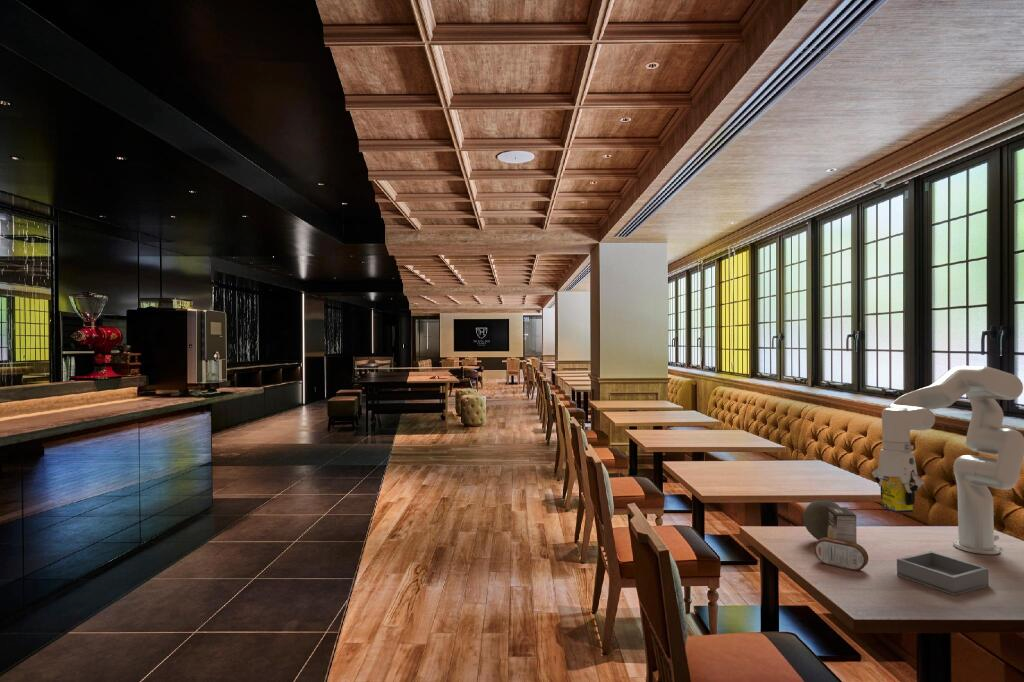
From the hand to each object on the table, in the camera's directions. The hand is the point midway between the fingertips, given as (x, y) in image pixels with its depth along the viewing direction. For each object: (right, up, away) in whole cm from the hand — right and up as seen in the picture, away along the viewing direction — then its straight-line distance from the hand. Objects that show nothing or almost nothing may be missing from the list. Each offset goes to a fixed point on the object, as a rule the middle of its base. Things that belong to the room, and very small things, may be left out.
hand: (897, 501), depth 189 cm
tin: (-20, -20, -3) cm, 29 cm away
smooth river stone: (-13, -20, +18) cm, 30 cm away
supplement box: (0, -3, 0) cm, 3 cm away
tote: (+3, -19, -15) cm, 25 cm away
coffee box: (-16, -20, +3) cm, 26 cm away
